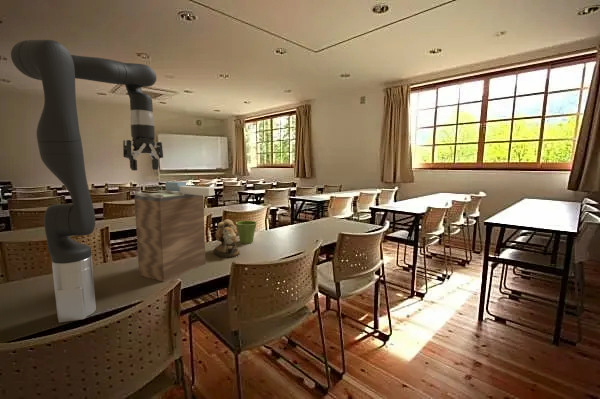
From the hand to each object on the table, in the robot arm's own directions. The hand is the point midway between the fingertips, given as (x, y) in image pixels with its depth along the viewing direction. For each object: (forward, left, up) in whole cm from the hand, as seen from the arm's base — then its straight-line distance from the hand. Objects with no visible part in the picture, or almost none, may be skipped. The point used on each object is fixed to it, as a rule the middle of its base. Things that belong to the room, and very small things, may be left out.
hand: (145, 170), depth 107 cm
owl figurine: (+26, -30, -43) cm, 58 cm away
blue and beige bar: (+9, -15, -10) cm, 20 cm away
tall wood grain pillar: (+10, -7, -42) cm, 44 cm away
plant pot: (+42, -43, -42) cm, 74 cm away
